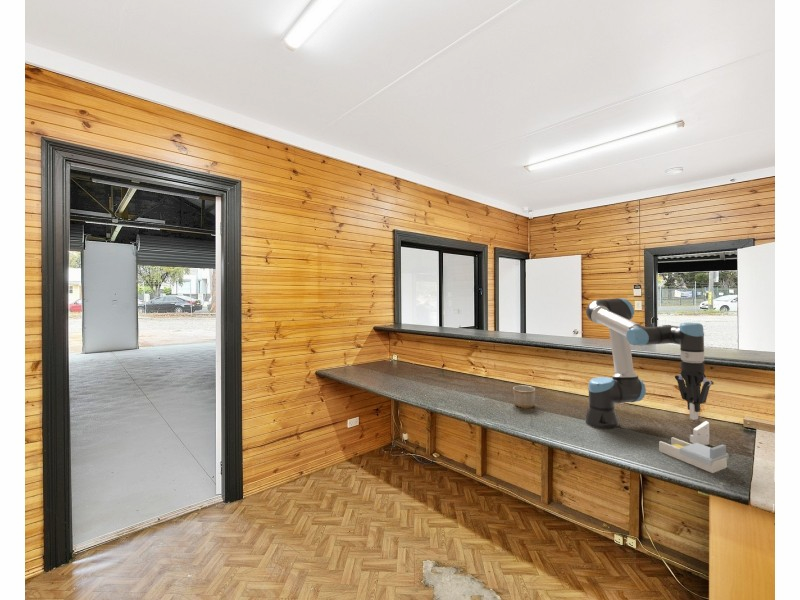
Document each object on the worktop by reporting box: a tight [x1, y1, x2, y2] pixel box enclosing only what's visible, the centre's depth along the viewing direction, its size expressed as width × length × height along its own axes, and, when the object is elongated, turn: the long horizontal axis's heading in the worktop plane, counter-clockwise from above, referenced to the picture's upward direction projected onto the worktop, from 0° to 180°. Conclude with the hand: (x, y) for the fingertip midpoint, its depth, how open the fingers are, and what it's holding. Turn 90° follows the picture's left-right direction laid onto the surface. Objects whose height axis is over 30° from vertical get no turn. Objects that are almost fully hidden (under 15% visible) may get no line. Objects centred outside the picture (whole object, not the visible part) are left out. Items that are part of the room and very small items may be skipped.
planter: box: [512, 384, 536, 409], centre depth 222 cm, size 13×13×10 cm
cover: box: [680, 443, 729, 466], centre depth 147 cm, size 11×11×6 cm
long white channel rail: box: [658, 436, 728, 474], centre depth 152 cm, size 20×9×4 cm, turn 22°
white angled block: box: [689, 420, 710, 446], centre depth 165 cm, size 4×10×9 cm
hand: (694, 418), depth 149 cm, fingers closed
